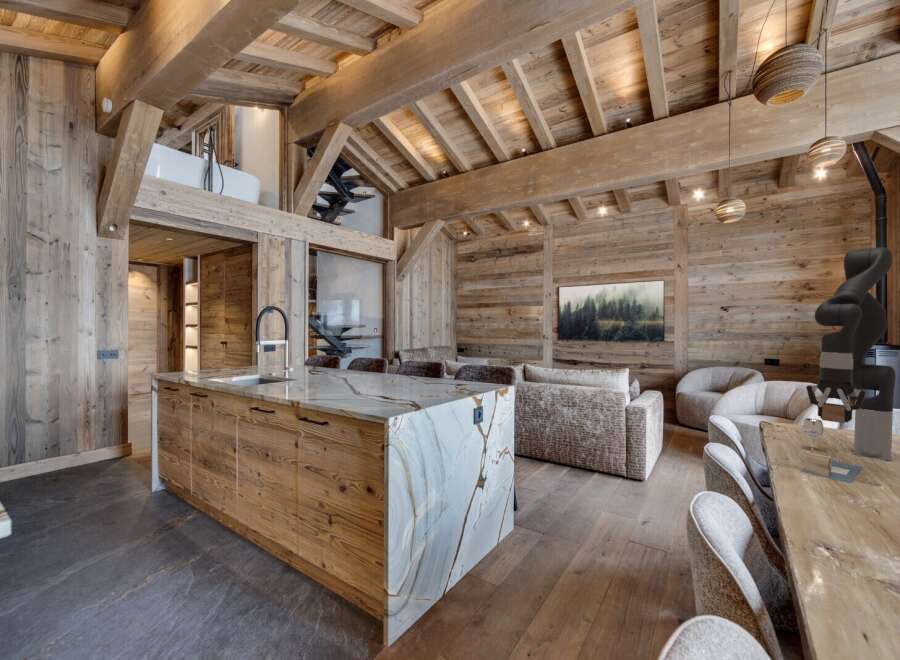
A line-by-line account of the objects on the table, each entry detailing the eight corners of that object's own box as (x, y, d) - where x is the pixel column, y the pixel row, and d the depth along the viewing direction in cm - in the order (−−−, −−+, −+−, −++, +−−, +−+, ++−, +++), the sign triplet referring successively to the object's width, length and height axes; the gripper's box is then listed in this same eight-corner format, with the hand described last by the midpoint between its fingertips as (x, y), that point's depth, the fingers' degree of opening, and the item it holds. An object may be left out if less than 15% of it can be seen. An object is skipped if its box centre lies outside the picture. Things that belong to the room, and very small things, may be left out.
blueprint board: (817, 460, 136) (817, 457, 136) (863, 470, 128) (863, 466, 128) (800, 474, 123) (800, 471, 123) (850, 486, 114) (850, 482, 114)
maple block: (809, 468, 125) (810, 452, 125) (831, 473, 121) (831, 457, 121) (805, 471, 122) (806, 455, 122) (827, 476, 118) (828, 460, 118)
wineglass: (827, 455, 143) (828, 422, 143) (808, 453, 144) (809, 421, 144) (815, 450, 148) (816, 418, 148) (798, 449, 150) (799, 417, 149)
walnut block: (825, 418, 128) (825, 402, 128) (846, 421, 124) (847, 405, 124) (821, 419, 125) (822, 404, 125) (843, 423, 121) (844, 407, 121)
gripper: (870, 368, 121) (868, 423, 121) (808, 364, 133) (807, 414, 133) (866, 369, 117) (864, 426, 117) (803, 365, 128) (801, 417, 128)
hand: (834, 419), depth 125 cm, fingers closed on walnut block, 5 cm apart
